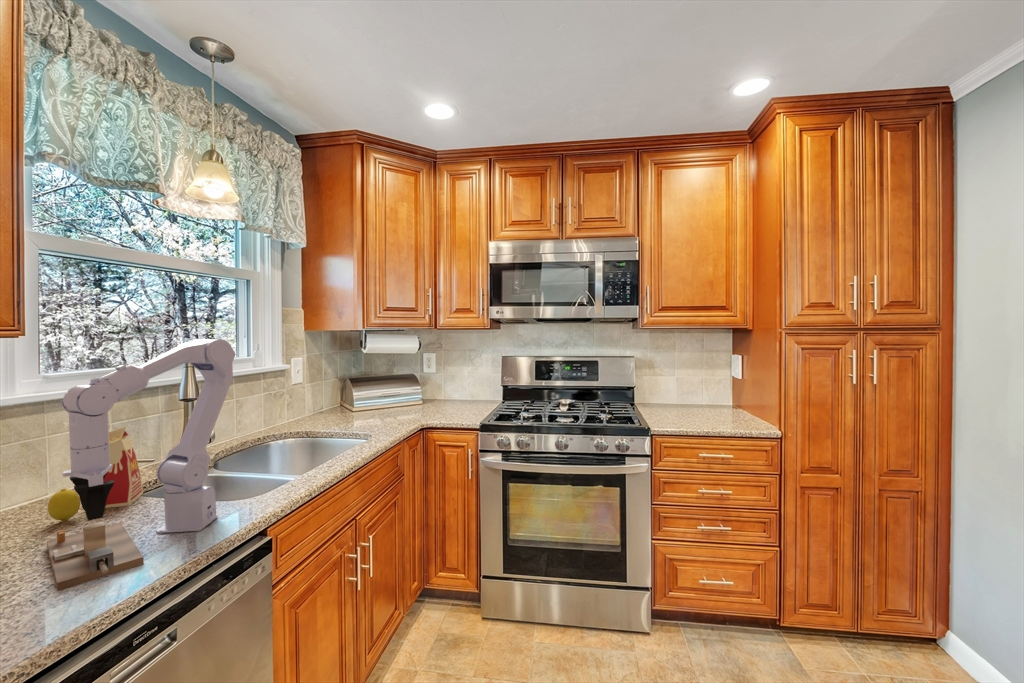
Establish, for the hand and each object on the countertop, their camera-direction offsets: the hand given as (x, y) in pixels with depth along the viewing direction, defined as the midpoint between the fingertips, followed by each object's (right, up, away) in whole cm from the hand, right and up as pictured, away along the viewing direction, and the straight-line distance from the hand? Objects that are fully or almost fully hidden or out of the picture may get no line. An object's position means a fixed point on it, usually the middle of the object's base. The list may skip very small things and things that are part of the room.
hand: (92, 513), depth 91 cm
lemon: (-24, -9, +19) cm, 31 cm away
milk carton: (-22, -9, +31) cm, 39 cm away
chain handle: (+2, -8, -4) cm, 9 cm away
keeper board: (-2, -9, +2) cm, 10 cm away
